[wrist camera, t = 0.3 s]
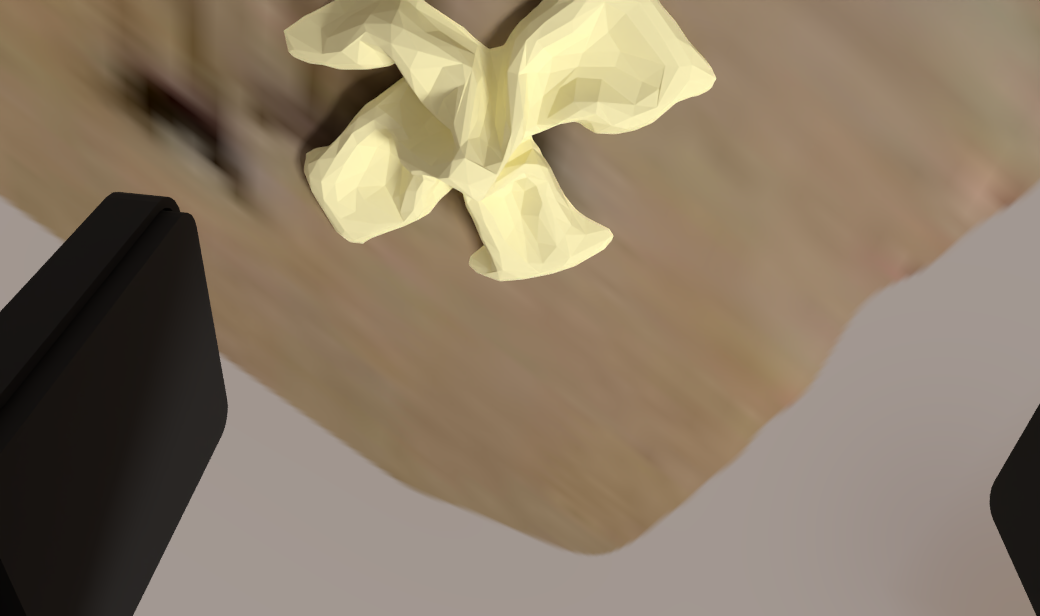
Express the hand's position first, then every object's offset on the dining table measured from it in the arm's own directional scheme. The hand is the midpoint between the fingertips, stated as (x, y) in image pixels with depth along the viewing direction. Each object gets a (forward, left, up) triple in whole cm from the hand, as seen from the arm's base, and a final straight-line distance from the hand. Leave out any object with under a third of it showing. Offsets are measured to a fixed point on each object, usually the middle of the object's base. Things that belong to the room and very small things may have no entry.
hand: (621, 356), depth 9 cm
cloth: (+12, +3, -31) cm, 34 cm away
